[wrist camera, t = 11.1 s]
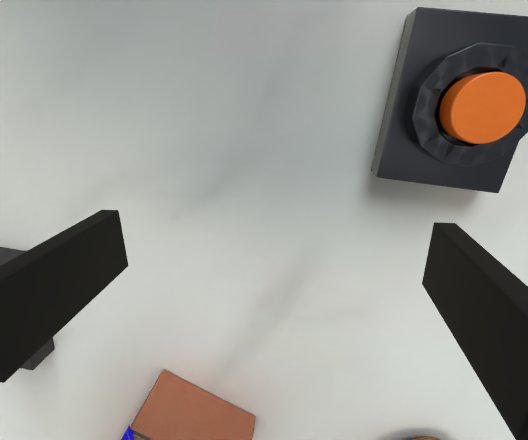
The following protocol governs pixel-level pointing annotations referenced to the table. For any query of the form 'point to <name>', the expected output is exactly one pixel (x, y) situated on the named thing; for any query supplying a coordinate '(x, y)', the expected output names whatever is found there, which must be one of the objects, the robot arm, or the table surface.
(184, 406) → the house
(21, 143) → the table surface
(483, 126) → the button
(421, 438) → the bread roll
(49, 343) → the timer panel
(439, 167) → the button block
